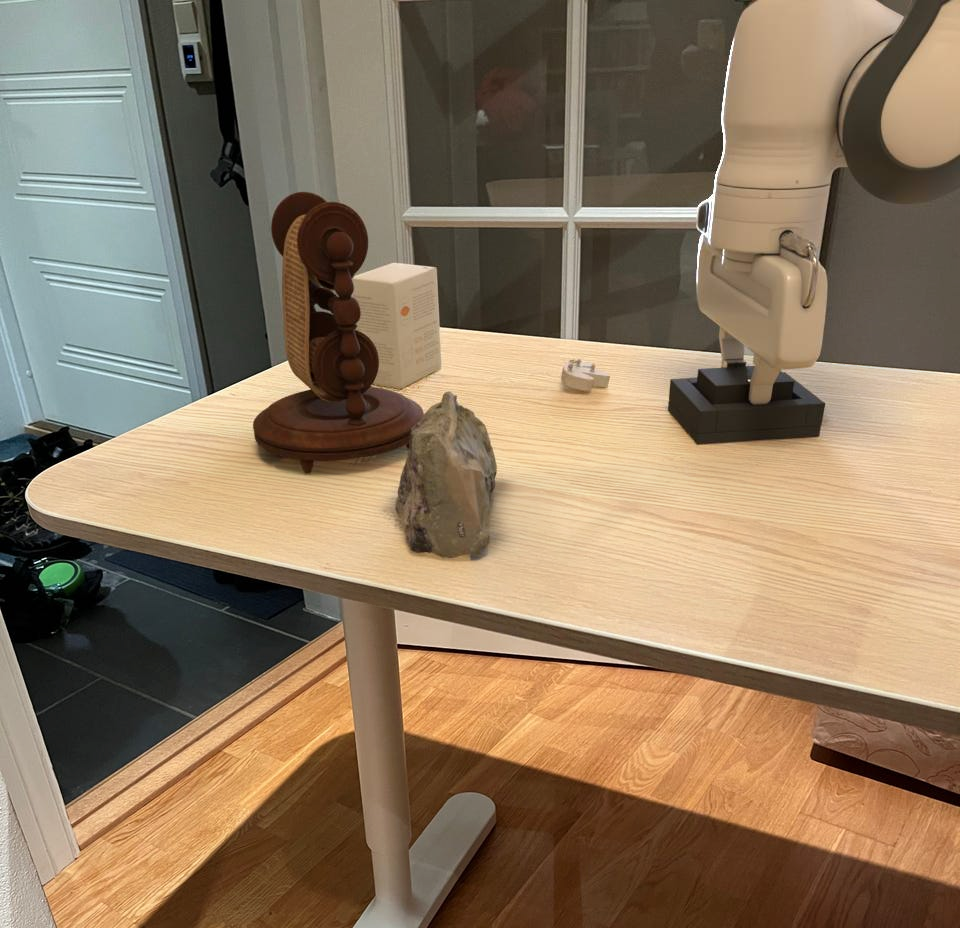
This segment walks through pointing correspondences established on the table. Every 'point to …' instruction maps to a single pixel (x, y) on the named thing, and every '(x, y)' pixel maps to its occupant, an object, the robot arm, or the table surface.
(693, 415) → the socket pad
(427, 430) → the mineral rock
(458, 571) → the table surface
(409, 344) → the small box
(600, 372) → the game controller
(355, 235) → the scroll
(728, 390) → the black rectangular block
